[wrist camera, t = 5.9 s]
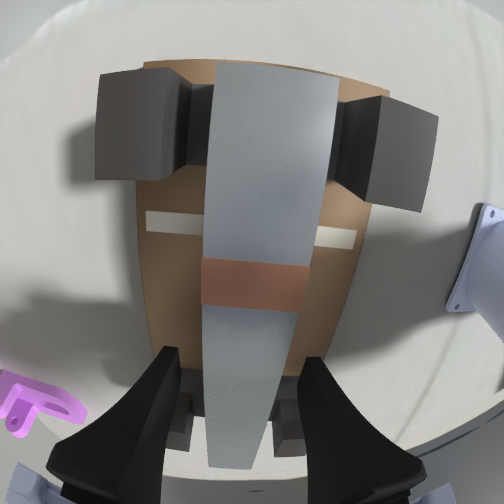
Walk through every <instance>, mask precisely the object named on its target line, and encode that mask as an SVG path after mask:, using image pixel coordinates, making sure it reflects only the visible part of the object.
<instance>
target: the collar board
mask: <svg viewBox="0 0 504 504" xmlns="http://www.w3.org/2000/svg"><path fill="white" fill-rule="evenodd" d="M217 62H235V63H249V64H260V65H269V66H277V67H284V68H291V69H297V70H303V71H308V72H313V73H318V74H323V75H328V76H332V77H336V78H340V80H339V90H338V99H337V108H336V116H335V124H334V131H333V139H332V146H331V153H330V159H329V166H328V172H327V178H326V184H325V190H324V196H323V201H322V207H321V212H320V217H319V223H318V228H317V233H316V238H315V243H314V248H313V252H312V257H311V262H310V266H311V268H310V272H309V277H308V281H307V285H306V290H305V294H304V298H303V302H302V306H301V310H300V312H299V313H298V317H297V321H296V325H295V329H294V333H293V337H292V340H291V344H290V348H289V351H288V355H287V359H286V362H285V366H284V369H283V373H282V376H281V380H280V383H279V386H278V390H277V393H276V396H275V400H274V403H273V406H272V409H271V412H270V415H269V419H268V421H272V430H273V446H274V457H296V456H305V455H306V453H307V452H306V444H305V439H304V433H303V428H302V423H301V418H300V412H299V407H298V398H297V382H298V379H299V377H300V374H301V371H302V368H303V365H304V363H305V360H306V357H320V358H321V359H322V360H324V358H325V355H326V353H327V350H328V348H329V345H330V343H331V340H332V337H333V335H334V332H335V329H336V326H337V324H338V321H339V318H340V315H341V312H342V309H343V306H344V303H345V300H346V297H347V294H348V291H349V288H350V285H351V282H352V278H353V275H354V272H355V268H356V265H357V261H358V258H359V254H360V251H361V247H362V243H363V239H364V236H365V232H366V228H367V224H368V219H369V215H370V211H371V207H372V203H373V204H379V205H384V206H390V207H395V208H400V209H405V210H410V211H415V212H419V213H421V211H422V207H423V203H424V199H425V194H426V190H427V186H428V181H429V176H430V171H431V166H432V160H433V154H434V148H435V142H436V135H437V127H438V118H439V117H438V116H436V115H433V114H431V113H429V112H426V111H424V110H421V109H419V108H416V107H414V106H411V105H409V104H406V103H403V102H401V101H398V100H395V99H392V98H389V95H390V91H389V90H386V89H383V88H380V87H376V86H373V85H370V84H367V83H363V82H360V81H356V80H353V79H349V78H345V77H341V76H337V75H333V74H328V73H324V72H319V71H314V70H309V69H304V68H298V67H292V66H285V65H278V64H270V63H261V62H251V61H238V60H216V59H186V60H164V61H151V62H144V65H143V69H137V70H129V71H121V72H114V73H108V74H102V75H100V79H99V88H98V98H97V111H96V129H95V180H136V205H137V228H138V243H139V256H140V267H141V277H142V285H143V293H144V301H145V308H146V315H147V322H148V328H149V334H150V339H151V345H152V350H153V355H154V359H155V358H156V356H157V355H158V353H159V352H160V350H161V349H162V347H163V346H172V347H178V349H179V359H180V367H181V375H182V377H181V384H180V390H179V396H178V400H177V404H176V407H175V411H174V415H173V418H172V422H171V425H170V429H169V433H168V437H167V442H166V448H168V449H174V450H180V451H186V452H189V448H190V440H191V433H192V426H193V419H194V416H200V417H205V406H204V384H203V351H202V304H201V257H202V254H203V230H204V207H205V188H206V172H207V158H208V145H209V133H210V121H211V111H212V101H213V92H214V83H215V74H216V66H217Z"/></svg>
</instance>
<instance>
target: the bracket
mask: <svg viewBox="0 0 504 504" xmlns="http://www.w3.org/2000/svg"><path fill="white" fill-rule="evenodd" d="M40 411H41V412H44V413H47V414H49V415H52V416H55V417H58V418H60V419H63V420H66V421H69V422H72V423H76V424H83V423H84V420H85V418H86V415H87V411H86V409H85V407H84V406H83V405H82V404H81V403H80V402H79V401H78V400H76V399H75V398H74V397H73V396H71V395H70V394H68V393H67V392H65V391H63V390H61V389H59V388H57V387H54V386H51V385H47V384H44V383H41V382H38V381H34V380H31V379H29V378H26V377H23V376H20V375H17V374H15V373H12V372H9V371H7V370H4V371H3V373H2V374H1V376H0V419H2V418H4V417H6V416H7V417H6V420H5V425H6V428H7V430H8V431H10V432H11V433H12V434H13V435H14V436H15V437H17V438H23V437H25V436H26V435H27V434H28V432H29V430H30V428H31V426H32V424H33V422H34V420H35V417H36V415H37V413H38V412H40Z"/></svg>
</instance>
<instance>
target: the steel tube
mask: <svg viewBox="0 0 504 504" xmlns="http://www.w3.org/2000/svg"><path fill="white" fill-rule="evenodd" d="M339 80H340V78H336V77H332V76H328V75H323V74H318V73H313V72H308V71H303V70H297V69H291V68H284V67H277V66H269V65H260V64H249V63H235V62H217V66H216V74H215V83H214V92H213V101H212V111H211V121H210V133H209V145H208V158H207V172H206V188H205V207H204V230H203V254H202V257H201V304H202V351H203V384H204V406H205V424H206V439H207V452H208V464H209V467H216V468H228V469H251V468H252V465H253V462H254V460H255V457H256V454H257V451H258V448H259V445H260V442H261V440H262V437H263V434H264V431H265V428H266V425H267V422H268V419H269V415H270V412H271V409H272V406H273V403H274V400H275V396H276V393H277V390H278V386H279V383H280V380H281V376H282V373H283V369H284V366H285V362H286V359H287V355H288V351H289V348H290V344H291V340H292V337H293V333H294V329H295V325H296V321H297V317H298V313H299V312H300V310H301V306H302V302H303V298H304V294H305V290H306V285H307V281H308V277H309V272H310V268H311V266H310V262H311V257H312V252H313V248H314V243H315V238H316V233H317V228H318V223H319V217H320V212H321V207H322V201H323V196H324V190H325V184H326V178H327V172H328V166H329V159H330V153H331V146H332V139H333V131H334V124H335V116H336V108H337V99H338V90H339Z"/></svg>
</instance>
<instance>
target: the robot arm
mask: <svg viewBox="0 0 504 504" xmlns="http://www.w3.org/2000/svg"><path fill="white" fill-rule="evenodd" d="M445 307H446V310H447V311H448V312H467V311H477V312H478V313H479V314H480V315H481V316H482V317H483V319H484V320H485V321H486V322H487V323H488V324H489V326H490V327H491V328H492V329H493V330H494V331H495V333H496V334H497V335H498V336H499V338H500V339H501V340H502V341H503V343H504V210H503V209H500V208H498V207H495V206H492V205H490V204H487V203H485V204H484V205H483V206H482V208H481V211H480V215H479V219H478V222H477V226H476V229H475V232H474V235H473V238H472V241H471V244H470V247H469V250H468V253H467V256H466V258H465V261H464V264H463V266H462V269H461V271H460V274H459V276H458V279H457V281H456V284H455V286H454V288H453V290H452V293H451V295H450V297H449V299H448V301H447V304H446V306H445ZM181 377H182V375H181V367H180V359H179V349H178V347H172V346H163V347H162V349H161V350H160V352H159V353H158V355H157V356H156V358H155V359H154V360H153V362H152V363H151V364H150V366H149V367H148V368H147V370H146V371H145V372H144V373H143V375H142V376H141V377H140V378H139V380H138V381H137V382H136V383H135V384H134V385H133V386H132V387H131V389H130V390H129V391H128V392H127V393H126V394H125V395H124V396H123V397H122V398H121V399H120V400H119V401H118V402H117V403H116V404H115V405H114V406H113V407H111V408H110V409H109V410H108V411H107V412H105V413H104V414H103V415H102V416H101V417H99V418H98V419H97V420H95V421H94V422H93V423H91V424H89V425H88V426H86V427H85V428H83V429H82V430H80V431H79V432H77V433H75V434H74V435H72V436H70V437H68V438H66V439H64V440H62V441H60V442H58V443H56V444H55V446H54V448H53V450H52V452H51V454H50V457H49V459H48V462H47V465H46V469H47V470H48V471H49V472H50V473H51V474H53V475H54V476H56V477H57V478H58V479H60V480H61V481H63V482H64V483H63V486H62V488H61V487H59V486H57V485H55V484H53V483H51V482H49V481H48V480H47V479H45V478H44V477H42V476H41V475H39V474H38V473H36V472H34V471H33V470H31V469H29V468H27V467H26V466H24V465H23V464H21V463H20V462H18V463H17V465H16V468H15V471H14V474H13V477H12V479H11V482H10V485H9V488H8V492H7V495H6V498H5V501H6V502H7V503H8V504H160V500H161V498H160V497H161V483H162V472H163V463H164V455H165V448H166V442H167V437H168V433H169V429H170V425H171V422H172V418H173V415H174V411H175V407H176V404H177V400H178V396H179V390H180V384H181ZM297 398H298V407H299V412H300V418H301V423H302V428H303V433H304V439H305V444H306V452H307V470H308V504H457V503H456V500H455V497H454V493H453V491H452V487H451V484H450V483H448V484H446V485H444V486H442V487H440V488H437V489H435V490H433V491H431V492H429V493H427V494H425V495H424V496H422V497H421V498H418V499H416V500H413V501H411V502H409V501H408V496H410V494H411V493H410V490H409V489H411V488H412V487H414V486H416V485H417V484H419V483H420V482H422V481H424V480H425V479H426V477H427V474H426V471H425V467H424V465H423V462H422V460H420V459H418V458H417V457H415V456H413V455H411V454H409V453H407V452H406V451H404V450H403V449H401V448H400V447H398V446H397V445H395V444H394V443H393V442H391V441H390V440H389V439H388V438H386V437H385V436H384V435H383V434H381V433H380V432H379V431H378V430H377V429H376V428H375V427H374V426H373V425H371V424H370V423H369V422H368V421H367V420H366V419H365V417H364V416H363V415H362V414H361V413H360V412H359V411H358V410H357V409H356V407H355V406H354V405H353V404H352V402H351V401H350V400H349V399H348V397H347V396H346V395H345V393H344V392H343V391H342V389H341V388H340V386H339V385H338V384H337V382H336V381H335V379H334V378H333V376H332V375H331V373H330V371H329V370H328V368H327V367H326V365H325V364H324V362H323V360H322V359H321V358H320V357H306V360H305V363H304V365H303V368H302V371H301V374H300V377H299V379H298V382H297Z"/></svg>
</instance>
